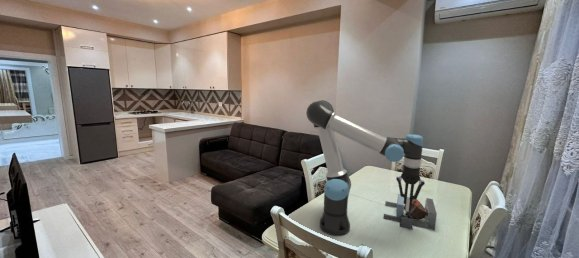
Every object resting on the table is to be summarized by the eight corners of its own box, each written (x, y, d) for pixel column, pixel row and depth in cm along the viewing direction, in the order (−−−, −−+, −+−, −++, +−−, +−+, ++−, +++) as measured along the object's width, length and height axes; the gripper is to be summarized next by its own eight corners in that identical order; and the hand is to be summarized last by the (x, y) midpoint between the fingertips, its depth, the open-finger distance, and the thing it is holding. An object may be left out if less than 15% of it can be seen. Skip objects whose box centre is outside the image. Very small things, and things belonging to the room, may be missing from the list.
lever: (408, 222, 119) (421, 204, 115) (402, 219, 120) (415, 200, 116) (408, 219, 121) (421, 201, 118) (402, 216, 122) (414, 198, 119)
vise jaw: (402, 221, 125) (404, 205, 124) (396, 219, 126) (397, 204, 125) (402, 209, 138) (404, 194, 136) (396, 207, 139) (397, 193, 137)
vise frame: (435, 235, 113) (437, 218, 112) (382, 222, 124) (384, 207, 122) (430, 213, 133) (432, 199, 132) (385, 204, 143) (386, 190, 142)
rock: (432, 215, 123) (421, 207, 119) (418, 228, 125) (406, 220, 122) (418, 199, 134) (407, 191, 131) (405, 211, 136) (394, 204, 133)
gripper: (426, 165, 116) (420, 209, 120) (397, 161, 122) (393, 204, 126) (427, 170, 110) (421, 216, 114) (397, 166, 115) (392, 210, 119)
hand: (406, 210), depth 120 cm, fingers closed
